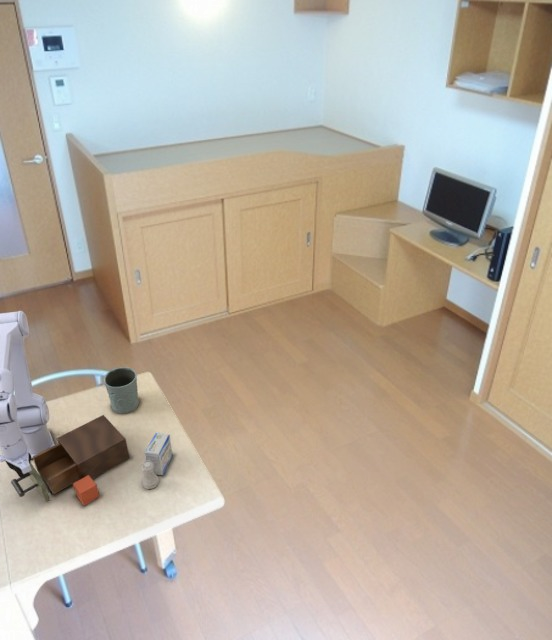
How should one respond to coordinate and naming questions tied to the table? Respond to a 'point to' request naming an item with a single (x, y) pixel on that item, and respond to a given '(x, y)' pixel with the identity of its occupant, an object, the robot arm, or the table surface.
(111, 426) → the cabinet
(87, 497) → the block
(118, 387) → the grey-green pot
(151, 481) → the rook chess piece
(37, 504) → the table surface
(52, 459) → the drawer
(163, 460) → the medicine box
